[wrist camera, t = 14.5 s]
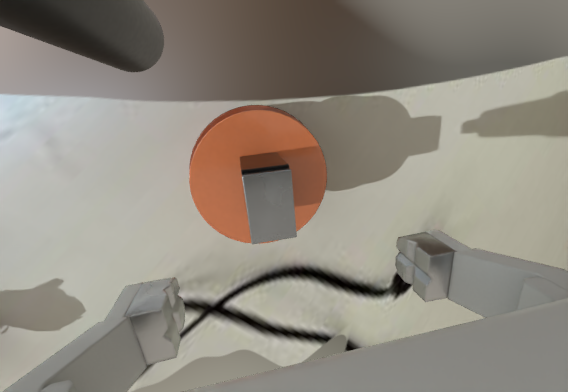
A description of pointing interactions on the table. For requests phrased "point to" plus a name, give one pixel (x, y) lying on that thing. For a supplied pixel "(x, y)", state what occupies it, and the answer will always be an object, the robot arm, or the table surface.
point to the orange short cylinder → (243, 142)
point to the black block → (268, 197)
